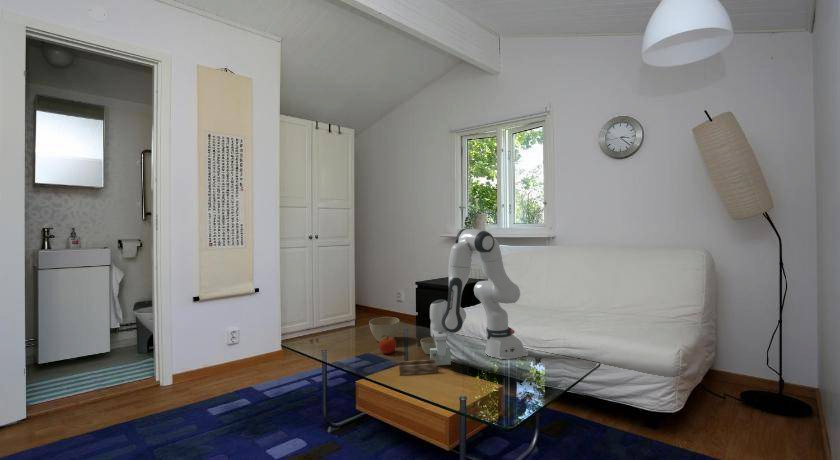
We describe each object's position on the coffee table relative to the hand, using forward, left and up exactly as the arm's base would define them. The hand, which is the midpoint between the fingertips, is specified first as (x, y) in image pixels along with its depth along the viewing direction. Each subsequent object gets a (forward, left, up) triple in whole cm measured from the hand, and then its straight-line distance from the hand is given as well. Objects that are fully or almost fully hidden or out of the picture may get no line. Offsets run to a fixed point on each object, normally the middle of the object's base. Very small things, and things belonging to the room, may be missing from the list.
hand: (440, 358), depth 225 cm
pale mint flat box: (0, 0, -3) cm, 3 cm away
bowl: (+4, -17, -3) cm, 18 cm away
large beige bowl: (+29, -43, -3) cm, 52 cm away
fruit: (+27, -22, -3) cm, 35 cm away
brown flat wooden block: (+12, +7, -3) cm, 14 cm away
